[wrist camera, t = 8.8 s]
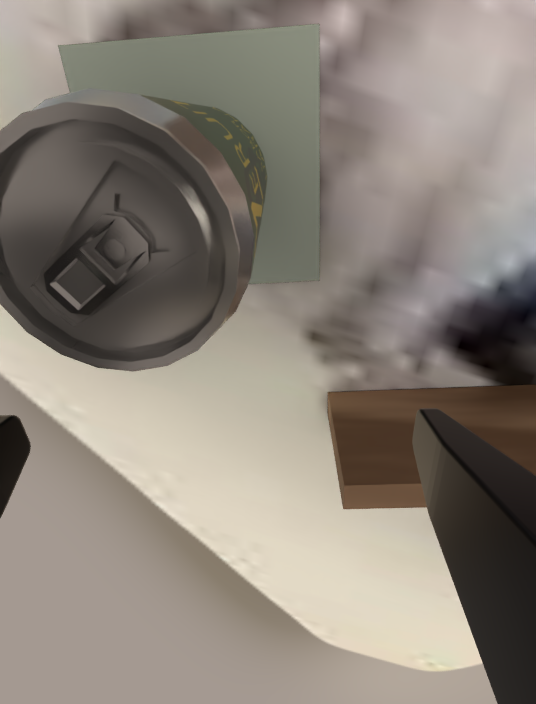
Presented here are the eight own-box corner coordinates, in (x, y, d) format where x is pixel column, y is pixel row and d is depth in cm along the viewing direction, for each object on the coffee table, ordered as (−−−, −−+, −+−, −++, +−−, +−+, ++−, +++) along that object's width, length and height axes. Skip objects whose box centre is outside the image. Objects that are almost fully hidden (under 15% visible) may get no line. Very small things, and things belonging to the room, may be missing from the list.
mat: (319, 277, 21) (319, 280, 20) (122, 287, 21) (120, 290, 21) (318, 26, 16) (319, 23, 15) (63, 47, 16) (58, 45, 16)
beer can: (203, 261, 20) (119, 420, 9) (119, 166, 18) (-107, 233, 7) (292, 187, 18) (310, 281, 8) (210, 73, 16) (81, -11, 6)
